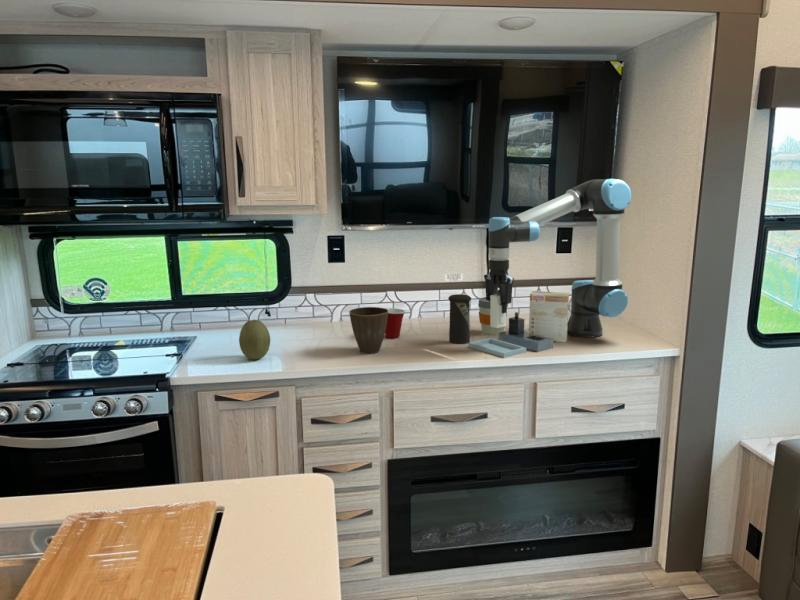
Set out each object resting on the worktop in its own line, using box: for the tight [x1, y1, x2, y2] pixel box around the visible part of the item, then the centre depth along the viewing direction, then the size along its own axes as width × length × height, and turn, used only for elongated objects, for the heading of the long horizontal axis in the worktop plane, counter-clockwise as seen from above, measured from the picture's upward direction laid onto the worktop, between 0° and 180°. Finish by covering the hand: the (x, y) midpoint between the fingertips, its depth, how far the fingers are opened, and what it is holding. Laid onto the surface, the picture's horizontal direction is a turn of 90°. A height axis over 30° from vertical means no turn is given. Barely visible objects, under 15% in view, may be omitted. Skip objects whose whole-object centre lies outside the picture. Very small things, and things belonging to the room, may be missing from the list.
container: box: [447, 293, 472, 345], centre depth 238 cm, size 9×9×20 cm
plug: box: [490, 289, 507, 328], centre depth 225 cm, size 5×4×14 cm
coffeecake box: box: [528, 290, 570, 343], centre depth 244 cm, size 15×7×20 cm, turn 70°
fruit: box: [238, 319, 271, 361], centre depth 220 cm, size 11×11×15 cm
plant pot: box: [348, 306, 388, 355], centre depth 229 cm, size 15×15×16 cm
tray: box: [467, 337, 528, 359], centre depth 228 cm, size 12×19×2 cm, turn 37°
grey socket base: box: [498, 311, 554, 353], centre depth 233 cm, size 9×20×13 cm, turn 37°
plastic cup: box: [384, 307, 406, 340], centre depth 250 cm, size 11×11×12 cm
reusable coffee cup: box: [477, 296, 509, 336], centre depth 254 cm, size 13×13×15 cm
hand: (498, 320), depth 226 cm, fingers closed on plug, 3 cm apart
